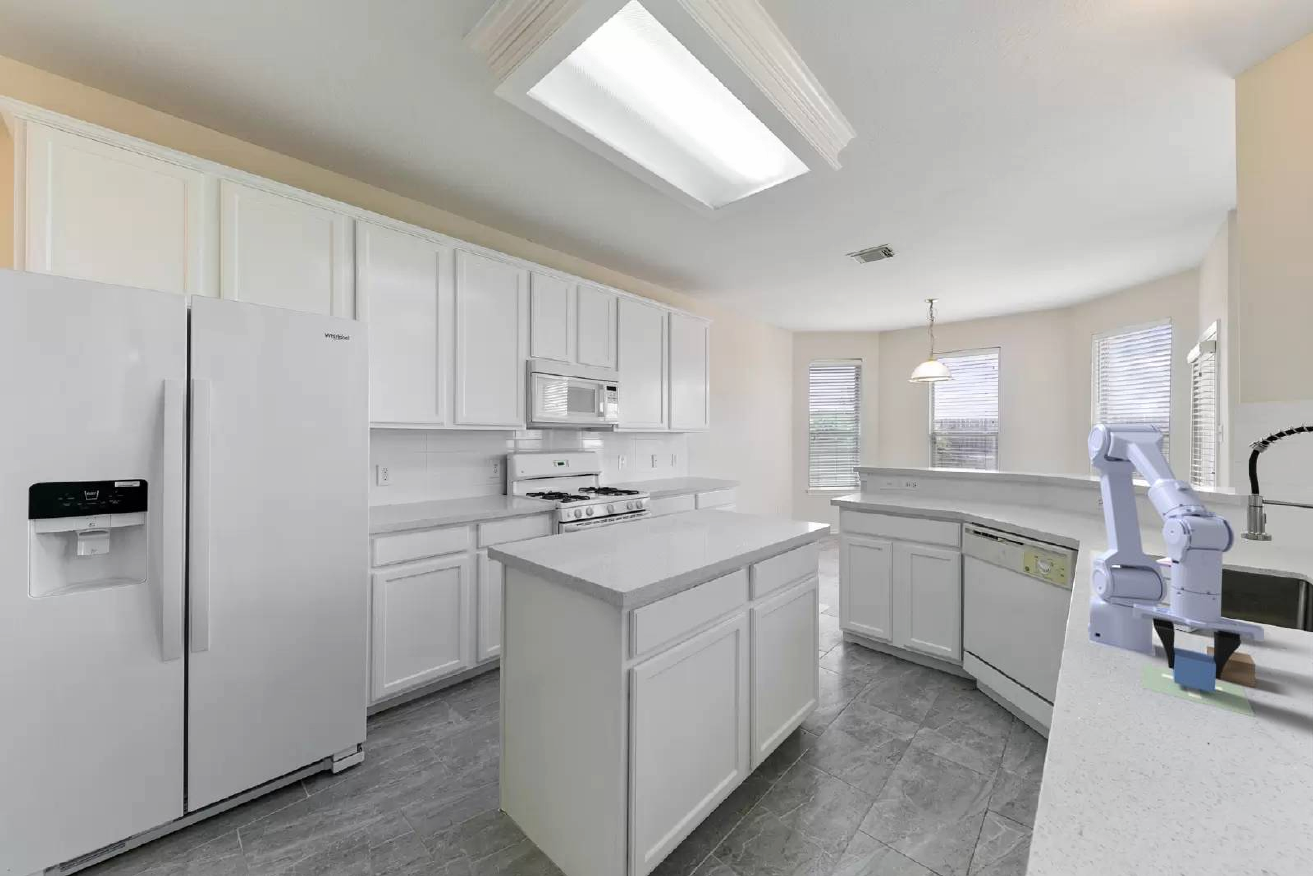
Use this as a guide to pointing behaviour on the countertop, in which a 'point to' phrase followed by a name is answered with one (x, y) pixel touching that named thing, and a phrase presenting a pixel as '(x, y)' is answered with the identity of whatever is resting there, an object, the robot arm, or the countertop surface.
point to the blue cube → (1194, 669)
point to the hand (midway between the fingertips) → (1193, 671)
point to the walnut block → (1238, 668)
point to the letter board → (1196, 691)
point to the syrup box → (1166, 572)
